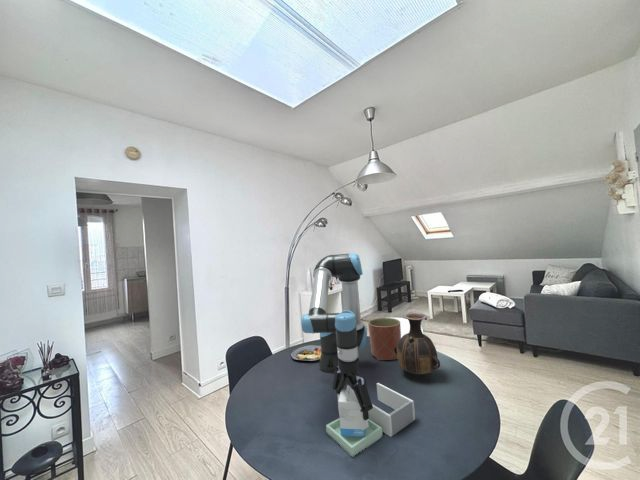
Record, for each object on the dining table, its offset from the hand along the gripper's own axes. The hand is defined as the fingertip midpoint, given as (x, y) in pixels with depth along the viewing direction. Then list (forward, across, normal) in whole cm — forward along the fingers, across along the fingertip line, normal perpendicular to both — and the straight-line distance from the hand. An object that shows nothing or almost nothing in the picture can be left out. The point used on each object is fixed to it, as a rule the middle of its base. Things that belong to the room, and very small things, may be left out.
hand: (352, 419), depth 93 cm
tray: (+6, 0, 0) cm, 6 cm away
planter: (+6, -37, +60) cm, 71 cm away
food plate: (+6, -70, +27) cm, 75 cm away
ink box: (+3, 0, 0) cm, 3 cm away
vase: (+6, -10, +53) cm, 54 cm away
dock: (+6, 0, +16) cm, 17 cm away
